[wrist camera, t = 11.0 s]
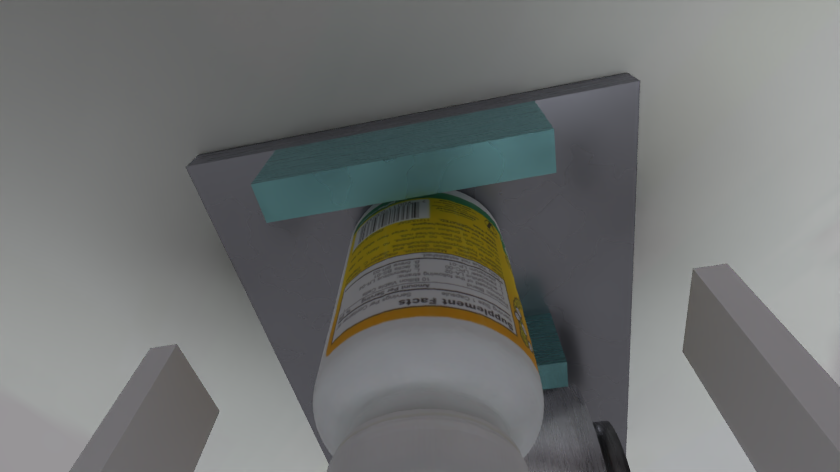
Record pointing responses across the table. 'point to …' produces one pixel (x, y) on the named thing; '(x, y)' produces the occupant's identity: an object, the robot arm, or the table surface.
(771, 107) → the table surface
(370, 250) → the supplement bottle
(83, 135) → the table surface
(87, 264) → the table surface
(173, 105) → the table surface
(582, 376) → the motor unit
